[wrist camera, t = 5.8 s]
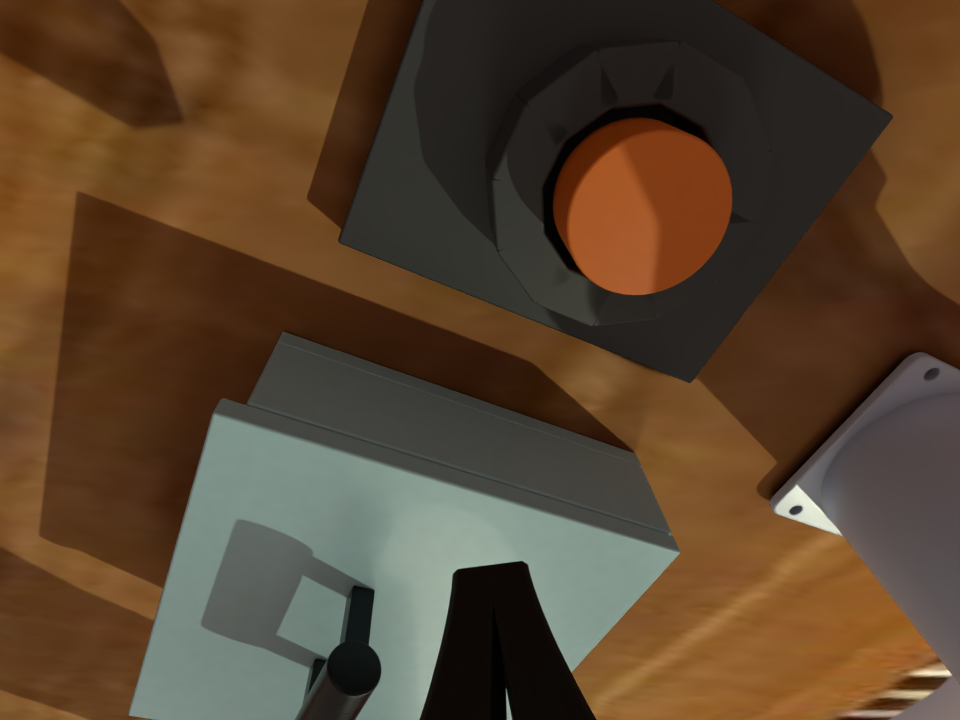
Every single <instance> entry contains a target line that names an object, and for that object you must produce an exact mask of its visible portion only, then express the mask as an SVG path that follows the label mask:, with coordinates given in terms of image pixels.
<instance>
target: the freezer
mask: <svg viewBox="0 0 960 720" xmlns="http://www.w3.org/2000/svg"><path fill="white" fill-rule="evenodd" d="M246 405H248V406H251V407H254V408H257V409H261V410H264V411H267V412H271V413H274V414H277V415H280V416H284V417H287V418H290V419H293V420H297V421H300V422H303V423H306V424H310V425H313V426H316V427H319V428H323V429H326V430H329V431H333V432H336V433H339V434H342V435H346V436H349V437H352V438H355V439H359V440H362V441H365V442H368V443H372V444H375V445H378V446H381V447H385V448H388V449H391V450H395V451H398V452H401V453H404V454H408V455H411V456H414V457H417V458H421V459H424V460H427V461H430V462H434V463H437V464H440V465H443V466H447V467H450V468H453V469H457V470H460V471H463V472H466V473H470V474H473V475H476V476H479V477H483V478H486V479H489V480H492V481H496V482H499V483H502V484H505V485H509V486H512V487H515V488H519V489H522V490H525V491H528V492H532V493H535V494H538V495H541V496H545V497H548V498H551V499H554V500H558V501H561V502H564V503H567V504H571V505H574V506H577V507H581V508H584V509H587V510H590V511H594V512H597V513H600V514H603V515H607V516H610V517H613V518H616V519H620V520H623V521H626V522H629V523H633V524H636V525H639V526H643V527H646V528H649V529H652V530H656V531H659V532H662V533H665V534H669V535H671V530H670V528H669V526H668V524H667V522H666V519H665V517H664V515H663V513H662V511H661V509H660V506H659V504H658V502H657V500H656V498H655V495H654V493H653V491H652V489H651V487H650V484H649V482H648V480H647V478H646V476H645V474H644V471H643V469H642V467H641V464H640V462H639V460H638V457H637V455H636V454H635V453H632V452H629V451H626V450H623V449H621V448H618V447H615V446H612V445H609V444H606V443H603V442H600V441H597V440H595V439H592V438H589V437H586V436H583V435H580V434H577V433H574V432H572V431H569V430H566V429H563V428H560V427H557V426H554V425H551V424H548V423H546V422H543V421H540V420H537V419H534V418H531V417H528V416H525V415H523V414H520V413H517V412H514V411H511V410H508V409H505V408H502V407H499V406H497V405H494V404H491V403H488V402H485V401H482V400H479V399H476V398H474V397H471V396H468V395H465V394H462V393H459V392H456V391H453V390H450V389H448V388H445V387H442V386H439V385H436V384H433V383H430V382H427V381H425V380H422V379H419V378H416V377H413V376H410V375H407V374H404V373H402V372H399V371H396V370H393V369H390V368H387V367H384V366H381V365H378V364H376V363H373V362H370V361H367V360H364V359H361V358H358V357H355V356H353V355H350V354H347V353H344V352H341V351H338V350H335V349H332V348H329V347H327V346H324V345H321V344H318V343H315V342H312V341H309V340H306V339H304V338H301V337H298V336H295V335H292V334H289V333H286V332H282V334H281V336H280V338H279V340H278V342H277V344H276V346H275V348H274V350H273V352H272V354H271V356H270V358H269V360H268V362H267V364H266V366H265V368H264V370H263V372H262V374H261V376H260V378H259V380H258V382H257V384H256V386H255V388H254V390H253V391H252V393H251V395H250V397H249V399H248V401H247V404H246Z"/></svg>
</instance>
